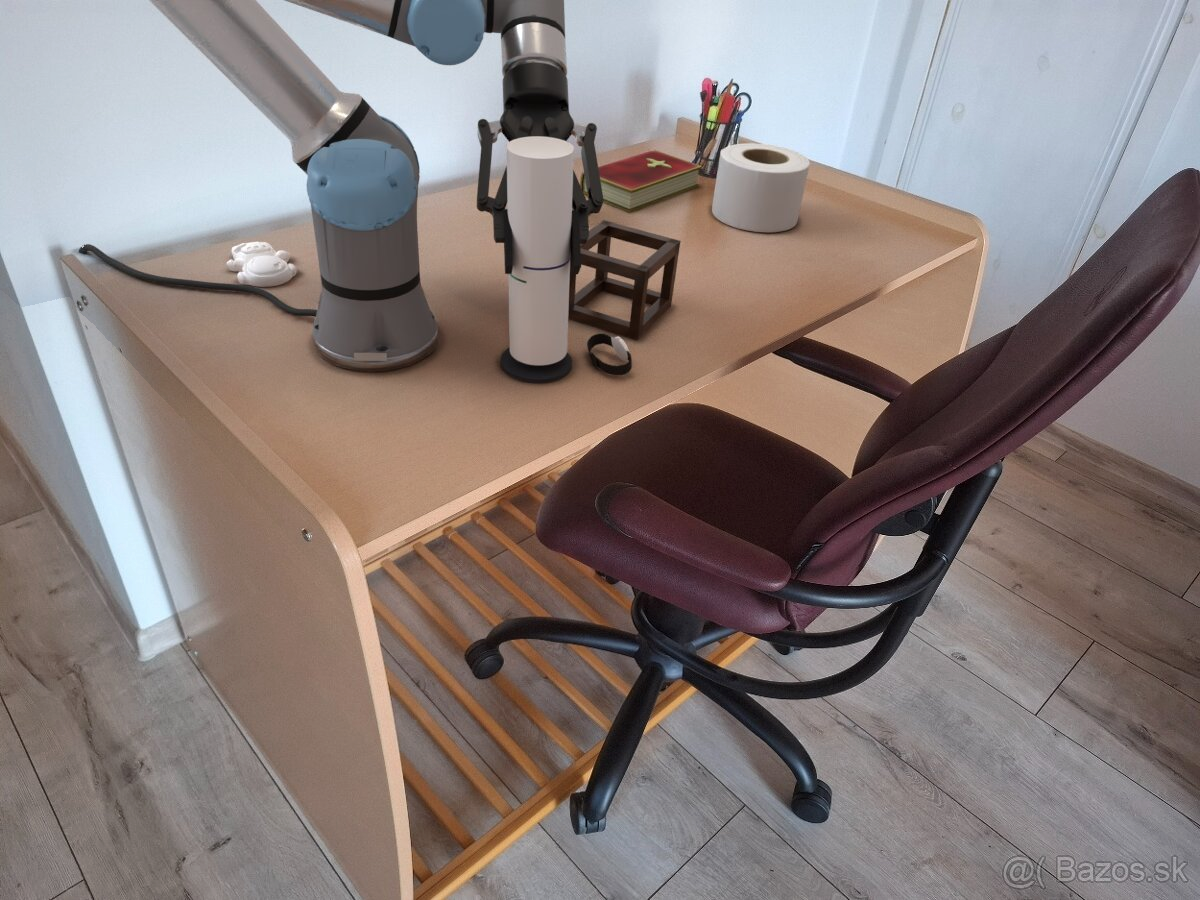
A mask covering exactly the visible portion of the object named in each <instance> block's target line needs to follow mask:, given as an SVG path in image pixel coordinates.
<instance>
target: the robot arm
mask: <svg viewBox="0 0 1200 900" xmlns="http://www.w3.org/2000/svg"><path fill="white" fill-rule="evenodd" d="M148 1H149V2H150V3H151V4H152V5H153V6H154V7H155V8H156V9H157V10H158V11H159V12H160V13H161V14H162V15H163V16H164V17H165V18H166V19H167V20H168V21H169V22H170V23H171V24H172V25H173V26H174V27H175V28H176V29H177V30H178V31H179V32H180V33H181V34H182V35H183V36H184V37H185V38H186V39H187V40H188V41H189V42H190V43H191V44H192V45H193V46H194V47H195V48H196V49H197V50H198V51H199V52H200V53H201V54H202V55H203V56H204V57H205V58H206V59H207V60H208V61H209V62H210V63H212V65H213V66H214V67H216V69H217V70H218V71H219V72H220V73H221V74H222V75H223V76H224V77H225V78H226V79H227V80H229V82H230V83H231V84H232V85H234V87H235V88H236V89H237V90H239V92H240V93H242V95H243V96H244V97H245V98H246V99H248V101H250V103H251V104H252V105H253V106H255V108H256V109H257V110H258V111H260V112H261V114H263V115H264V116H265V118H267V119H268V121H269V122H271V123H272V124H273V125H274V126H275V127H276V129H278V130H279V132H280V133H282V134H283V135H284V136H285V137H286V138H287V140H289V142H290V145H291V157H292V161H293V162H294V164H296V165H297V167H299V168H300V169H301V171H303V172H304V173H305V175H307V179H306V193H307V196H308V200H309V203H310V208H311V209H310V210H311V217H312V224H313V231H314V238H315V246H316V253H317V261H318V268H319V274H320V283H321V291H320V295H319V300H318V304H317V309H314V308H296V307H293V306H291V305H288V304H286V303H285V302H283V301H282V300H280V298H278V297H277V296H275V295H274V294H272V293H271V292H270V291H267V290H264V289H262V288H260V287H256V286H252V285H244V284H237V283H236V284H235V283H225V282H224V283H221V282H211V281H202V280H193V279H185V278H176V277H175V278H174V277H167V276H161V275H155V274H151V273H147V272H144V271H140V270H137V269H134V268H133V267H131V266H128V265H126V264H124V263H123V262H121V261H119V260H117V259H115V258H113V257H110V256H109V255H107V253H104V252H103V251H102V250H101V249H99V248H98V247H96V246H94V245H93V244H90V243H86V245H85V244H83V245H84V247H83V248H82V247H81V246H80V247H79V249H78V254H86V253H87V252H90V253H92V254H94V255H95V256H96V257H98V258H99V259H100V260H101V261H103V262H105V263H106V264H108V265H110V266H112V267H115V268H116V269H118V270H119V271H121V272H124V273H126V274H128V275H130V276H131V277H135V278H138V279H140V280H144V281H148V282H152V283H156V284H163V285H169V286H177V287H186V288H187V287H188V288H197V289H204V290H215V291H226V292H227V291H229V292H238V293H239V292H240V293H245V294H251V295H255V296H260V297H262V298H263V299H265V300H267V301H269V302H270V303H272V304H273V305H275V307H277V308H278V309H280V310H281V311H282V312H284V313H287V314H289V315H292V316H296V317H297V316H298V317H315V319H314V322H313V327H312V338H313V343H314V349H315V351H316V353H317V354H318V355H319V356H320V357H321V358H322V359H323V360H324V361H326V362H328V363H329V364H332V365H334V366H337V367H340V368H342V369H343V368H344V369H347V370H352V371H359V372H385V371H392V370H393V371H394V370H398V369H401V368H404V367H408V366H411V365H414V364H416V363H419V362H420V361H422V360H423V359H425V358H426V357H427V358H428V356H430V355H431V353H432V352H434V350H435V349H436V347H437V346H438V342H439V330H438V321H437V320H436V317H435V315H434V313H433V312H432V310H431V309H430V305H429V302H428V300H427V296H426V294H425V291H424V289H423V286H422V283H421V270H420V249H419V234H418V233H419V232H418V199H419V198H418V197H419V195H418V194H419V184H420V178H421V177H420V173H421V172H420V171H421V169H420V162H419V157H418V154H417V152H416V149H415V147H414V144H413V143H412V141H411V139H410V137H409V136H408V134H407V133H406V132H405V131H404V129H402V128H401V127H400V126H399V125H398V124H397V123H395V122H394V121H393V120H391V119H390V118H387V117H385V116H384V115H383V116H382V115H380V114H378V113H377V112H376V111H375V110H374V108H372V106H371V105H370V104H369V103H368V102H367V101H366V100H365V99H364V97H363V96H362V95H360V94H359V93H351V92H344V91H341V90H340V89H339V88H338V87H337V86H336V85H335V84H334V83H333V82H332V81H331V80H330V79H329V78H328V77H327V75H326V74H325V73H324V72H323V71H322V70H321V69H320V68H319V67H318V65H316V64H315V62H314V61H313V60H312V59H311V58H310V57H309V56H308V54H307V53H305V52H304V50H303V49H302V48H301V47H300V46H299V45H298V44H297V43H296V42H295V40H293V38H292V37H291V36H290V35H289V34H288V33H287V32H286V31H285V30H284V29H283V28H282V26H281V25H280V24H279V23H278V22H277V21H276V20H275V19H274V18H273V17H272V16H271V14H269V13H268V11H267V10H266V9H264V6H262V5H261V4H260V3H259V2H258V0H148ZM283 1H285V2H288V3H291V4H294V5H296V6H299V7H301V8H305V9H308V10H311V11H313V12H316V13H318V14H322V15H325V16H328V17H330V18H333V19H336V20H339V21H343V22H345V23H349V24H351V25H354V26H355V27H356V26H357V27H359V28H361V29H366V30H368V31H371V32H374V33H377V34H380V35H381V36H385V37H388V38H391V39H393V40H396V41H398V42H401V43H403V44H407V45H409V46H412V47H415V48H416V49H417V51H418V52H420V53H421V54H422V55H423V56H424V57H425V58H426V59H428V60H429V61H431V62H433V63H434V64H435V63H436V64H437V65H442V66H457V65H460V64H463V63H465V62H467V61H469V60H470V59H471V58H472V57H473V56H474V55H475V54H476V53H477V51H478V50H479V49H480V46H481V45H482V42H483V40H484V35H485V33H486V34H492V33H493V34H494V33H495V34H500V48H501V49H500V51H501V73H502V74H501V75H502V77H503V78H502V103H503V104H502V105H503V106H502V107H503V109H502V110H503V112H502V114H501V116H500V118H499V119H498V120H493V121H488V120H487V119H486V118H480V119H479V120H477V138H478V142H479V145H480V157H479V169H478V178H477V179H478V180H477V190H476V191H477V192H476V209H477V210H478V211H479V212H481V213H482V212H486V213H489V214H490V215H491V217H492V224H493V225H492V227H493V240H494V242H495V244H503V252H504V253H503V256H504V259H503V260H504V275H508V274H512V269H513V252H512V229H511V226H510V223H509V218H508V208H506V207H507V165H506V166H505V169H504V172H503V174H502V177H501V180H500V183H499V185H498V189H497V191H496V194H495V197H492V196H489V192H490V180H491V170H492V169H491V167H492V158H493V144H494V143H496V142H497V141H498V137H499V134H501V133H502V135H503V136H504V137H505V139H506V140H507V141H508V143H509V142H510V141H512V140H514V139H518V138H522V137H532V136H542V137H552V138H557V139H561V140H564V141H566V142H568V141H569V138H570V137H571V136H573V137H574V138H575V142H576V145H578V147H580V148H581V150H580V157H581V162H582V163H581V164H582V168H583V172H584V175H585V181H586V187H587V193H588V196H587V198H586V195H585V194H584V193H583V191H582V189H581V186H580V181H579V179H578V176H577V174H576V172H575V170H574V169H573V192H572V222H571V250H570V251H571V273H572V274H576V275H579V273H580V271H581V269H582V268H581V267H582V265H581V250H580V244H586V242H587V239H588V237H589V230H590V228H589V227H590V226H589V216H590V215H593V214H594V215H597V214H599V213H600V212H601V209H602V207H603V205H604V199H603V193H602V187H601V181H600V175H599V169H598V167H599V164H598V163H599V162H598V157H597V151H596V146H595V140H596V135H597V131H598V127H597V125H596V124H595V123H594V122H589V123H588V124H587V125H583V124H579V123H576V122H575V121H574V119H573V117H572V116H571V113H570V103H569V101H570V100H569V82H568V81H569V80H568V78H567V76H568V75H567V74H568V61H567V58H568V57H567V43H566V21H565V20H566V19H565V18H566V16H565V0H283Z"/></svg>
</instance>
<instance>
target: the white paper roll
mask: <svg viewBox="0 0 1200 900" xmlns="http://www.w3.org/2000/svg"><path fill="white" fill-rule="evenodd" d="M810 165H811V163H810V160H809V159H808V158H807V157H806V156H805V155H804V154H802V153H800V152H798V151H796V150H793V149H789V148H787V147H783V146H779V145H774V144H766V143H751V142H749V143H747V142H745V143H736V144H731V145H728V146H726V147H723V148H722V149H720V154H719V160H718V166H717V173H716V177H715V186H714V192H713V199H712V205H711V212H712V215H713V217H715V219H717V220H718V221H719V222H721V223H723V224H724V225H727V226H730V227H732V228H735V229H739V230H742V231H747V232H755V233H778V232H784V231H789V230H791V229H793V228H794V227H795V226H797V224H798V220H799V216H800V211H801V207H802V202H803V197H804V193H805V187H806V183H807V179H808V173H809V169H810Z"/></svg>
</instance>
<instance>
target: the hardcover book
mask: <svg viewBox="0 0 1200 900" xmlns="http://www.w3.org/2000/svg"><path fill="white" fill-rule="evenodd" d="M598 169H599V175H600V181H601V187H602V193H603V199H604V202H603V204H604V203H605V204H607V205H610V206H612V207H615V208H617V209H620V210H622V211H624V212H627V213H632V212H635V211H637V210H640V209H643V208H646V207H649V206H652V205H654V204H656V203H657V204H658V203H659V202H663V201H664V200H667V199H670V198H672V197H675V196H678V195H681V194H683V193H686V192H689V191H692V190H694V189H697V188H699V187H700V184H698V178H699V171H700V170H701V169H703V166H702V165H700V164H697V163H694V162H691V161H688V160H685V159H683V158H680V157H677V156H674V155H671V154H668V153H665V152H662V151H659V150H656V149H652V150H649V151H646V152H643V153H638V154H636V155H633V156H629V157H626V158H624V159H620V160H617V161H613V162H611V163H607V164H602V165H600V166H598ZM579 184H580V186H581V189H582V191H583V193H584V196H587V197H588V193H587V187H586V181H585V175H584V171H582V172H581V175H580V181H579Z"/></svg>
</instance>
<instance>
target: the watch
mask: <svg viewBox="0 0 1200 900" xmlns="http://www.w3.org/2000/svg"><path fill="white" fill-rule="evenodd" d="M599 345H606V346H609V347H611V348H613V350H614V352H615V353H616V355H617V357H618V358H619V359H620V360H622V361H624V362H626V361H628V362H627V363H624V364H619V365H615V364H614V365H613V364H609V363H606V362H604V361H602V360H601V359H600V358H598V357H597V356H596V355H595V354H594V352H592V351H591V350H592V349H593V348H594V347H596V346H599ZM586 346H587V352H588V358H589V360H590V361H591V363H592V365H593V366H594V367H595V368H596V369H599V370H601V371H602V372H603V373H605V374H607V375H610V376H623V375H627V374H628V373H630V372H631V370H632V369H633V362H632V361H633V360H632V354H631V353H630V350H629V347H628V345H627V344H626V342H625V340H624V339H623V338H622V337H620V336H615V337H612V336H611V335H609V334H606V333H602V332H601V333H600V332H599V333H596V334H593V335H591V336H590V337H589V338H588V340H587V341H586Z"/></svg>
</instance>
